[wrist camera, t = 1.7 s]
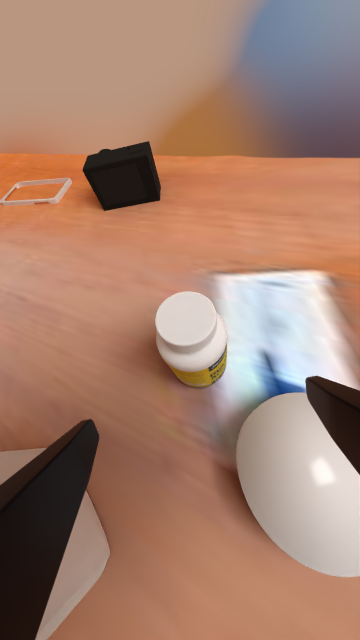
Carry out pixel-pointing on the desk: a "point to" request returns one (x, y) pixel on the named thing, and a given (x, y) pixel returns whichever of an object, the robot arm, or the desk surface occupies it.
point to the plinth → (301, 485)
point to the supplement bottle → (192, 338)
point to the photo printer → (67, 551)
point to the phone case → (31, 202)
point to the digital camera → (123, 176)
